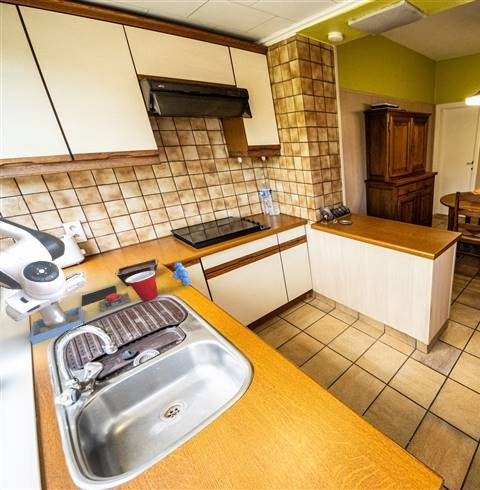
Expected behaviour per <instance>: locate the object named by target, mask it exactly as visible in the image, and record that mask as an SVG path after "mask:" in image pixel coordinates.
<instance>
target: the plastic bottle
mask: <svg viewBox="0 0 480 490" xmlns="http://www.w3.org/2000/svg"><path fill="white" fill-rule="evenodd" d="M38 313H39V315H40V317H41V319H43V322H44V325H45V326H44V328H46V329H47V330H51V329H54V328H56V327H59V326H62V325H65V324H68V323H71V317H69V316H68V315H67V314H66V313H65V311H64V310H63V309H62V307H61V306H60V304H59V302H57V303H55V304H53V305H52V306H50V307H49V306H46V307H44V308H42V309H41V310H39V311H38Z"/></svg>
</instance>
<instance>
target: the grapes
mask: <svg viewBox="0 0 480 490" xmlns="http://www.w3.org/2000/svg"><path fill="white" fill-rule="evenodd" d="M173 268H174V269H175V271H174V273H173V274H172V277H171V278H172V279H174V280H179V281H181V282H180V284H181V285H183V286H186V287H188V286H190V284H191V277H189V271H187V270H185V269H186V266H184V265H183V263H182V262H179V261H176V262H175V263H174V264H173Z"/></svg>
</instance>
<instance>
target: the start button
mask: <svg viewBox="0 0 480 490" xmlns="http://www.w3.org/2000/svg"><path fill="white" fill-rule="evenodd" d="M117 294H118V293H117ZM117 294H116V293H113V294H110V295H108V296H106V298H107V300H108V301H111V300H114V299H116V298H118V295H117Z"/></svg>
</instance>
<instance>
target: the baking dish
mask: <svg viewBox="0 0 480 490" xmlns="http://www.w3.org/2000/svg"><path fill="white" fill-rule="evenodd" d="M158 265H159V259H158V258H152V259H149V260H144V261H142V262H138V263H137V262H136V263H133V264H130V265H125V266H123V267H119V268H117V269H116V270H115V273H114V274H115V276H116V277H117V278H118V279H119V280H120V281H121V282H122V283H123V284H124V285H125V286H126V287H131V286H130V285H129V284H128V283H127V282H125V280H126V279H127V278H129V277H131V276H133V275H136V274H138V273H142V272H146V271H155V272H157V270H158Z"/></svg>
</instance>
